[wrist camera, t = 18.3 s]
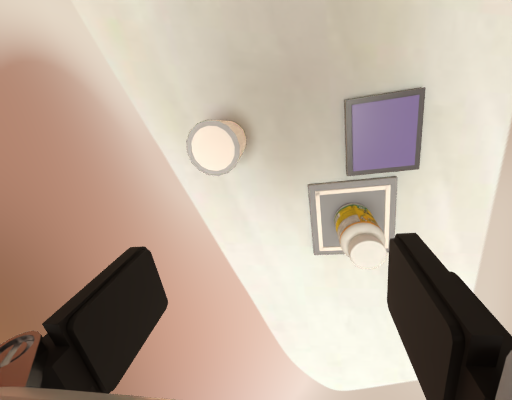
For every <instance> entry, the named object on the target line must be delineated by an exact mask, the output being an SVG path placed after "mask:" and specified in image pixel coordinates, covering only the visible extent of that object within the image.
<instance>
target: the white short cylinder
mask: <svg viewBox="0 0 512 400" xmlns="http://www.w3.org/2000/svg"><path fill="white" fill-rule="evenodd" d="M186 142H187V153H188V156H189V158H190V160H191V162H192V163H193V164H194V166H195V167H196V168H197V169H198V170H200V171H202V172H203V173H205V174H207V175H214V176H220V175H223V174H226V173H228V172H229V171H231V170H232V169H233V168H234V167H235V166H236V164H237V162H238V160H239V159H240V157H241V155H242V153H243V151H244V149H245V147H246V136H245V133H244V130H243V129H242V128H241V127H240V126H239V125H238V124H236V123H234V122H233V121H223V120H205V121H203V122H200V123H197V124H196V125H195V126H194V127H193V128H192V130H191V131H190V132H189V135H188V138H187V141H186Z"/></svg>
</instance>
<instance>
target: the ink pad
mask: <svg viewBox="0 0 512 400" xmlns="http://www.w3.org/2000/svg"><path fill="white" fill-rule="evenodd" d="M424 99H425V88H417V89H411V90H405V91H398V92H392V93H386V94H379V95H373V96H367V97H361V98H354V99H348V100H345V135H346V171H347V176H354V175H364V174H374V173H384V172H394V171H405V170H415V169H419V164H420V151H421V138H422V125H423V112H424Z"/></svg>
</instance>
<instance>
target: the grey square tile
mask: <svg viewBox="0 0 512 400" xmlns="http://www.w3.org/2000/svg"><path fill="white" fill-rule="evenodd" d="M308 189H309V201H310V213H311V224H312V236H313V248H314V255H329V254H345V253H344V252H343V250H342V248H341V246H340V242H339V239H338V235H337V231H336V228H335V224H334V217H335V214H336V212H337V211H338V210H339V209H340V208H341V207H342V206H344V205H346V204H350V203H356V204H360V205H363V206H365V207H366V208H367V209H368V210H369V211H370V212H371V214H372V216H373V217H374V219H375V221H376V222H377V224H378V225H379V227H380V229H381V230H382V231H383V233H384V236H385V241H386V242H385V249H386V252H389V242H390V239H391V238H395V217H396V195H397V177H396V176H394V177H383V178H373V179H362V180H352V181H341V182H330V183H320V184H309V185H308Z"/></svg>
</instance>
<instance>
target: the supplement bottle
mask: <svg viewBox="0 0 512 400" xmlns="http://www.w3.org/2000/svg"><path fill="white" fill-rule="evenodd" d="M334 224H335V228H336V231H337V235H338V239H339V242H340V246H341V248H342V250H343V252H344V253H345V254H346V255H347V256H348V257H350V259H351V261H352V263H353V264H354V265H355V266H357V267H359V268H361V269H374V268H377V267H379V266H380V265H382V264H383V263H384V261H385V260H386V257H387V252H386V249H385V242H386V241H385V236H384V233H383V231H382V230H381V229H380V227H379V225H378V224H377V222H376V221H375V219H374V217H373V216H372V214H371V212H370V211H369V210H368V209H367V208H366V207H365V206H363V205H360V204H356V203H350V204H346V205H344V206H342V207H341V208H340V209H339V210H338V211H337V212H336V214H335V217H334Z"/></svg>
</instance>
